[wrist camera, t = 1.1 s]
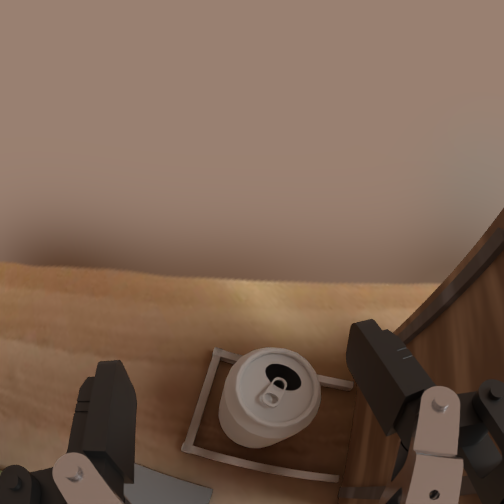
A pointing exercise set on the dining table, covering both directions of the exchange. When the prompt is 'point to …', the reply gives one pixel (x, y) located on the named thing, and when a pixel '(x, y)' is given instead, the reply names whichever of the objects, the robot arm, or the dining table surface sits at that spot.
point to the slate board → (163, 489)
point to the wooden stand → (430, 358)
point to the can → (268, 397)
